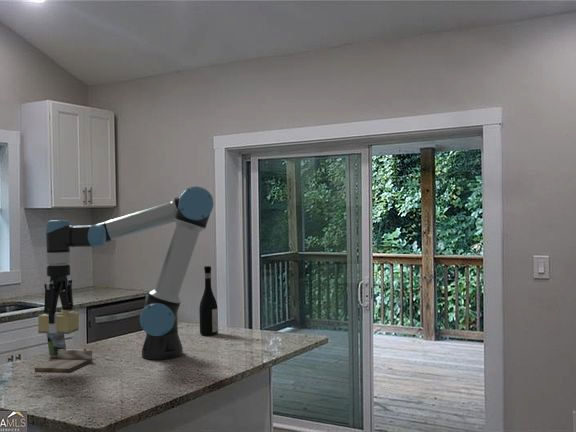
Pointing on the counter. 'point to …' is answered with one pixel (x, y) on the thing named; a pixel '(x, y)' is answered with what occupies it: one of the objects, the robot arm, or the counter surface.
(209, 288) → the wine bottle
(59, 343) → the beverage can
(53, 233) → the robot arm
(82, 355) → the wall board
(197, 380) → the counter surface
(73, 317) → the frame
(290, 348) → the counter surface
